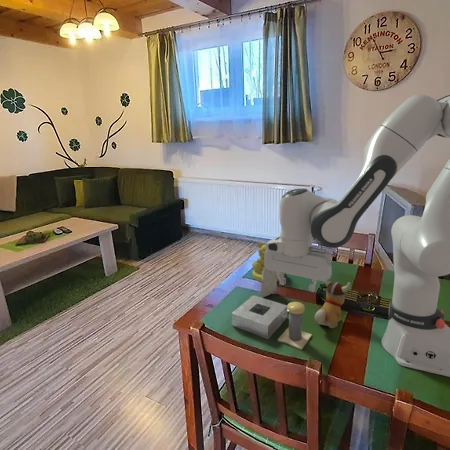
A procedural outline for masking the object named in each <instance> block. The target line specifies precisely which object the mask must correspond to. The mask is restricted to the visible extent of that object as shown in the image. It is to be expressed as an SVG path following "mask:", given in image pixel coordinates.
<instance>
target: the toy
mask: <svg viewBox="0 0 450 450" xmlns="http://www.w3.org/2000/svg"><path fill="white" fill-rule="evenodd" d="M324 284H325V286H326V291H325V292H326V295H325V298H326V299H325V302H324V304H323V306H322V307H321V308H319V309H318V310H317V311H316V312H315V314H314V320H315V322H316V324H318V325H323V326H326V327H327V326H328V328H330V329H334V328H337V327H338V326H339V324H338V323H339V322H341V320H342V318H341V315H342V309H341V308H342V307H341V306H342V305H343V304H344V303H345V297H346V293H347V292H348V291H349V289H350V288H351V282H347V284H346V285H342V284H341V283H340V282H337V281H336V282H331V281H329V280H328V281H326V282H324Z"/></svg>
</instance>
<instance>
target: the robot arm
mask: <svg viewBox="0 0 450 450" xmlns="http://www.w3.org/2000/svg"><path fill="white" fill-rule="evenodd" d="M435 136H439V137H441V138H445V139H446V138H449V139H450V94H449V95H445V96H443V97H440V98H439V99H435V98H434V97H432V96H430V95H426V94H415V95H411V96H410V97H408V98H407V99H405V100H404V101H403V102H402V103H401V104H400V105H399V106H398V107H397V108H395V110H394V111H392V112H391V113H390V114H389V115H388V116H387V117H386V118H385V119H384V120H383V122H381V124H380V125H379V126H378V127H377V128H376V130H375V131H374V132H373V133H372V135H371V136H370V138H369V139H368V141H367V143H366V144H365V146H364V148H363V153H362V155H363V158H362V159H363V160H362V161H363V162H362V167H361V170H360V172H359V175H358V177H357V178H356V179H355V180H354V182H352V184H351V186H350V187H349V188H348V189H347V190H346V191H345V193H344V194H343V195H342V197H340V199H339V200H336V199H333V198H328V197H325V196H321V195H317V194H316V193H314V192H311V191H310V190H309V189H308V188H295V189H291V190H289V191H287V192H285V193H284V194H283V195H282V196H281V198H280V202H279V223H280V227H281V231H280V235H279V236H275V237H273V238H271V239H270V240H269V241H267V242H266V243H265V244H266V245H265V247H266V249H267V250H266V251H265V255H264V265H265V267H266V269H267V270H272V271H276V275H277V277H278V279H279V281H278V282H279V285H282V286H285V285H286V284H287V278H286V277H285V276H284V277H283V275H282V273H285V275H286V274H287V275H291V276H296V277H300V278H305V279H308V280H309V279H310V280H311V282H312V283H310V284H309V285H308V292H311V293H314V292H315V291H316V285H317V284H318V283H319V282H326V281H329V280H330V279H331V277H332V276H333V275H332V274H333V273H332V271H333V270H332V261H333V260H332V257H333V256H332V254H331V253H330V252H329V251H328V250H327V248H328V249H335V248H339V247H343V246H344V245H346V244H347V243H348V242H349V241H350V240H351V239H352V237H353V235H354V232H355V229H356V227H357V224H358V221H360V219H361V217H362V216H363V215H364V213H366V211H367V210H368V208H369V207H370V206H371V205H372V204H373V203H374V202H375V201H376V200H377V197H379V196H380V194H381V193H382V192H383V191H384V189H386V187H387V185H389V183H390V181H391V180H392V179H393V178H395V176H396V175H397V174H398V173H399V171H400V170H401V169H402V168H403V167H404V166H405V165H406V164H407V163H408V162H409V161H410V160H411V159H412V158H413V157H414V155H416V154H417V152H418V151H419V150H420V149H421V148H422V147H423V146H424V145H425V143H426V142H427V141H429V140H430V139H432V138H434V137H435ZM390 234H391V239H392V254H393V255H392V256H393V259H392V260H393V267H394V269H393V270H394V272H393V273H394V274H393V275H394V281H393V291H392V298H391V300H390V302H389V307H388V314H387V315H388V322H387V326H386V329H385V331H384V334H383V336H382V337H381V340H380V341H381V345H382V348H383V349H385V351H386V352H387V353H389V354H390V356H392V357H393V358H394V359H395V361H396V363H398V365H400V366H403V367H407V368H410V369H414V370H418V371H419V370H420V371H424V372H427V373H432V374H436V375H440V376H445V377H448V378H450V327H449V325H448V324H446V322H445V314H444V309H441V310H439V309H438V303H439V301H438V300H439V295H440V290H441V283H440V279H439V277H444V276H448V275H450V158H449V159H448V161H447V162H446V163H445V164H444V166H443V167H442V169H441V171H440V172H439V174H438V176H437V177H436V179H435V180H434V182H433V183H432V185H431V186H430V188H429V190H428V191H427V193H426V195H425V204H424V210H423V212H422V215H421V216H418V215H413V214H409V215H408V214H407V215H406V214H405V215H403V216H401V217H399V218H398V219H397V218H396V220H395V221H394V222H393V224H392V226H391V229H390ZM312 239H313V240H314V242H316V244H318V245H320V247H324V248H319V247H313V241H312ZM325 248H326V249H325Z"/></svg>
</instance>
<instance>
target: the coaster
mask: <svg viewBox="0 0 450 450" xmlns="http://www.w3.org/2000/svg"><path fill="white" fill-rule="evenodd" d="M311 337H312V334H311V333H309V332H306V331H302V338H301V340H299V341H293V340H291V339H290V338H289V326H288V327H287V328H286V329H285V330H284V331H283V333H282V334H281V335H280V336H279V337H278V339H277V341H278V342H280V343H282V344H285V345H288V346H290V347H293V348H295V349H297V350H300V351H302V350H303V349H304V348H305V345H306V344H308V342H309V340H310V339H311Z"/></svg>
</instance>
